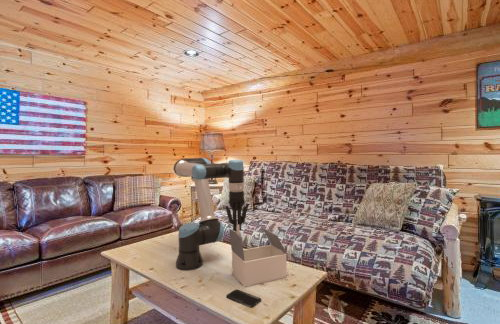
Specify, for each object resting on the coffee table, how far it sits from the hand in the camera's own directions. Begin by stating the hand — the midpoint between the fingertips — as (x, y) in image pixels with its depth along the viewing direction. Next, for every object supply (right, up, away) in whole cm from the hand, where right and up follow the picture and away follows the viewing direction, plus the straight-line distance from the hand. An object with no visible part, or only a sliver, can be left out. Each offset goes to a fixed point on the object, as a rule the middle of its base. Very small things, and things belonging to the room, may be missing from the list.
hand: (237, 236), depth 144 cm
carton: (+11, -22, +6) cm, 26 cm away
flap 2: (+19, -4, +9) cm, 22 cm away
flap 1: (0, -4, 0) cm, 4 cm away
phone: (+4, -24, -17) cm, 29 cm away
